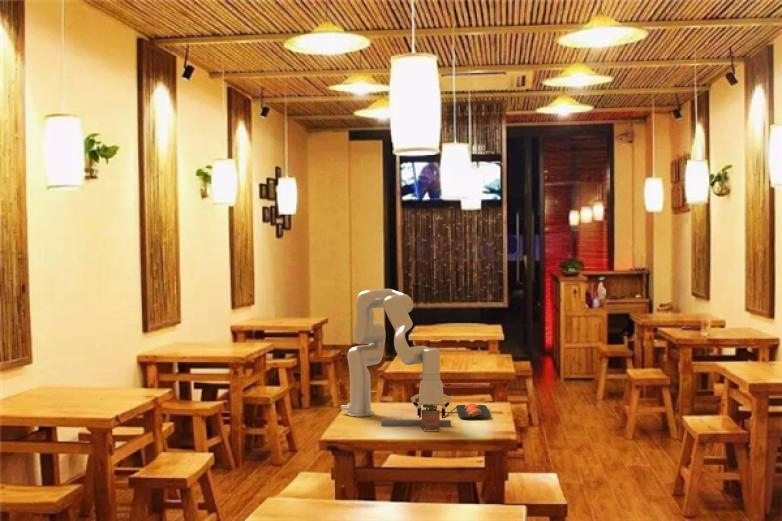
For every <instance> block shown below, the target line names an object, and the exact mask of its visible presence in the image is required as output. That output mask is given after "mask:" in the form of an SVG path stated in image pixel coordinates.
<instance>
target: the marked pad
mask: <svg viewBox="0 0 782 521" xmlns="http://www.w3.org/2000/svg"><path fill="white" fill-rule="evenodd" d="M423 429H424V430H423V432H425V433H426V432H427V433H439V430H440V429H426V428H423Z"/></svg>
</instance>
